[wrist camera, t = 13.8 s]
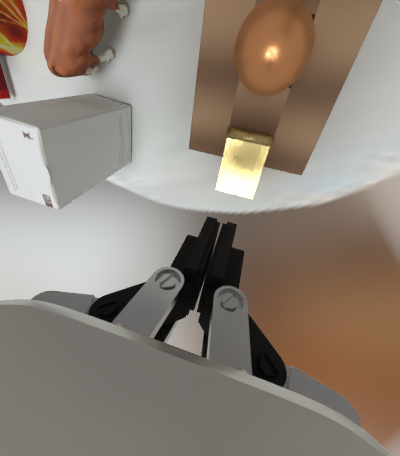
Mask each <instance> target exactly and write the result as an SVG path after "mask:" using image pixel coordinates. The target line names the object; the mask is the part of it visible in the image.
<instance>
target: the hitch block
mask: <svg viewBox="0 0 400 456" xmlns="http://www.w3.org/2000/svg"><path fill="white" fill-rule="evenodd" d="M262 1H263V0H205V8H204V17H203V26H202V35H201V44H200V53H199V62H198V71H197V80H196V89H195V98H194V107H193V116H192V125H191V134H190V143H189V149H192V150H196V151H200V152H205V153H209V154H213V155H217V156H222V157H223V154H224V150H225V145H226V141H227V140H225V136H226V131H227V128H228V126H229V127H234V128H238V129H243V130H248V131H252V132H257V133H262V134H266V135H271V136H275V139H274V143H273V146H272V148H271V150H269V151H268V154H267V157H266V160H265V163H264V167H268V168H272V169H277V170H281V171H285V172H289V173H294V174H298V175H302V173H303V171H304V169H305V167H306V164H307V162H308V160H309V158H310V156H311V154H312V151H313V149H314V147H315V145H316V143H317V141H318V139H319V136H320V134H321V132H322V130H323V128H324V126H325V123H326V121H327V119H328V117H329V115H330V113H331V110H332V108H333V106H334V104H335V102H336V100H337V97H338V95H339V93H340V91H341V89H342V87H343V85H344V82H345V80H346V78H347V76H348V74H349V72H350V69H351V67H352V65H353V63H354V61H355V59H356V56H357V54H358V52H359V50H360V48H361V46H362V43H363V41H364V39H365V37H366V35H367V33H368V31H369V28H370V26H371V24H372V22H373V20H374V18H375V15H376V13H377V11H378V9H379V7H380V5H381V2H382V0H301V1H302V2H303V3H304V4H305V5H306V6H307V7H308V9H309V10H310V13H311V15H312V18H313V21H314V27H315V42H314V47H313V51H312V55H311V58H310V60H309V62H308V64H307V66H306V68H305V70H304V71H303V73H302V74H301V75H300V77H299V78H298V79H297V80H296V81H295V82H294V83H293V84H292V85H291V86H289V87H288V88H286V89H285V90H283V91H281V92H279V93H276V94H271V95H260V94H256V93H254V92H252V91H250V90H249V89H247V88H246V87H245V86H244V85H243V83H242V82H241V81H240V79H239V77H238V75H237V72H236V69H235V63H234V48H235V42H236V38H237V35H238V32H239V30H240V27H241V25H242V23H243V22H244V20H245V18H246V17H247V15H248V14H249V13H250V12H251V11H252V9H253V8H254V7H256V6H257V5H258V4H259V3H261V2H262Z"/></svg>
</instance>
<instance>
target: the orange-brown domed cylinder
mask: <svg viewBox="0 0 400 456" xmlns="http://www.w3.org/2000/svg"><path fill="white" fill-rule="evenodd" d="M314 42H315V27H314V21H313V18H312V15H311V13H310V10H309V9H308V7H307V6H306V5H305V4H304V3H303V2H302V1H301V0H263V1H262V2H261V3H259V4H258V5H257V6H256V7H254V8H253V9H252V11H251V12H250V13H249V14H248V15H247V17H246V18H245V20H244V22H243V23H242V25H241V27H240V30H239V32H238V35H237V38H236V42H235V48H234V63H235V69H236V72H237V75H238V77H239V79H240V81H241V82H242V83H243V85H244V86H245V87H246V88H247V89H249V90H250V91H252V92H254V93H256V94H260V95H271V94H276V93H279V92H281V91H283V90H285V89H286V88H288V87H289V86H291V85H292V84H293V83H294V82H295V81H296V80H297V79H298V78H299V77H300V75H301V74H302V73H303V71H304V70H305V68H306V66H307V64H308V62H309V60H310V58H311V55H312V51H313V47H314Z"/></svg>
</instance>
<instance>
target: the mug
mask: <svg viewBox="0 0 400 456" xmlns="http://www.w3.org/2000/svg"><path fill="white" fill-rule="evenodd" d="M27 34H28V27H27V18H26V12H25V9H24V5H23V2H22V0H0V55H10V56H13V55H17V54H19V53H20V52H21V51H22V50H23V49H24V47H25V44H26V41H27ZM6 98H10V95H9V91H8V88H7V85H6V81H5V78H4V74H3V71H2V68H1V64H0V99H6Z"/></svg>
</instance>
